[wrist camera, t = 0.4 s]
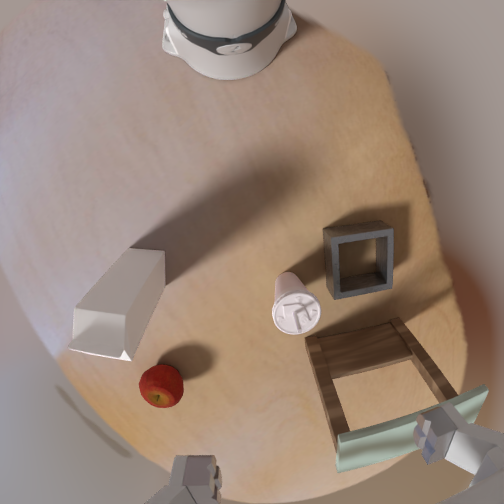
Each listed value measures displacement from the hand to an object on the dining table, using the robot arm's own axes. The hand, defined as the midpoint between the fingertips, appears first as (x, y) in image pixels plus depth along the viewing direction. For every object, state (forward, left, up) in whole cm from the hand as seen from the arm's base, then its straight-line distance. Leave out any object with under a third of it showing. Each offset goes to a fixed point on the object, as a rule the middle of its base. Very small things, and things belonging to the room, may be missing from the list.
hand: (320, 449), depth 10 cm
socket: (+8, +14, -37) cm, 40 cm away
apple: (+26, -21, -38) cm, 50 cm away
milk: (+5, -18, -38) cm, 42 cm away
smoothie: (+11, +3, -38) cm, 39 cm away
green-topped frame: (+20, +14, -37) cm, 44 cm away
